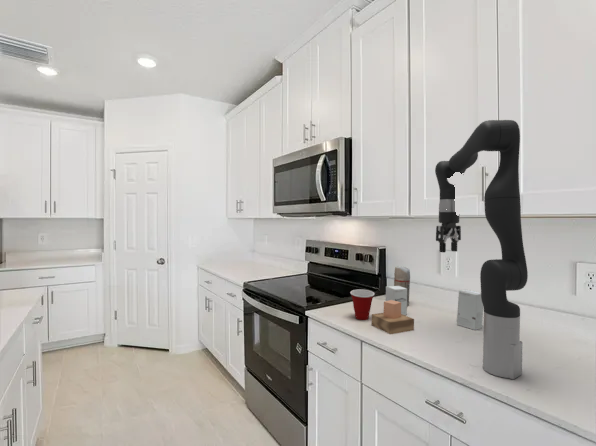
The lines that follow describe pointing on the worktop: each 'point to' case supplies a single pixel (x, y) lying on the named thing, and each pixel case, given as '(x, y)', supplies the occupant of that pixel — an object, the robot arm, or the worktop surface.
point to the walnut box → (392, 323)
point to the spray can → (402, 279)
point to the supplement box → (397, 296)
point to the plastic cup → (362, 303)
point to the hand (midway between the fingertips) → (448, 251)
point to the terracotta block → (392, 309)
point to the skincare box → (470, 309)
